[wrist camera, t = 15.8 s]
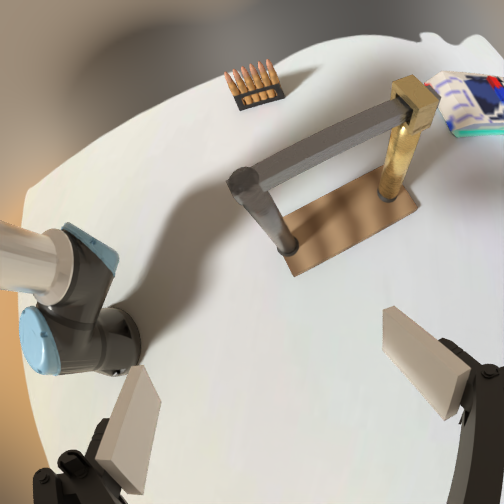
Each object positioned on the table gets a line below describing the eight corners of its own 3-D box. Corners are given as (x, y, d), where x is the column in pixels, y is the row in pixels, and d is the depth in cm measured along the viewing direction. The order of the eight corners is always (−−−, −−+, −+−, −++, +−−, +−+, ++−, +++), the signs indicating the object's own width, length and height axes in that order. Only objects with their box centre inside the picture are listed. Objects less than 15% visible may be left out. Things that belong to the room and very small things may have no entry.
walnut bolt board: (292, 278, 50) (290, 276, 48) (267, 228, 53) (265, 226, 51) (415, 210, 46) (417, 207, 44) (386, 166, 49) (387, 162, 47)
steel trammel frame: (283, 257, 49) (235, 201, 26) (276, 242, 50) (223, 177, 27) (407, 191, 45) (444, 100, 23) (397, 177, 46) (426, 82, 24)
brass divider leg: (386, 205, 45) (417, 109, 22) (373, 186, 47) (390, 82, 23) (402, 196, 45) (440, 99, 21) (389, 177, 46) (414, 73, 23)
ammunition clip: (283, 92, 59) (271, 55, 48) (285, 98, 59) (272, 60, 47) (238, 105, 62) (220, 70, 50) (239, 111, 61) (220, 76, 50)
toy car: (536, 137, 39) (550, 118, 31) (451, 141, 46) (463, 116, 38) (506, 86, 44) (515, 65, 35) (420, 84, 51) (426, 58, 43)
